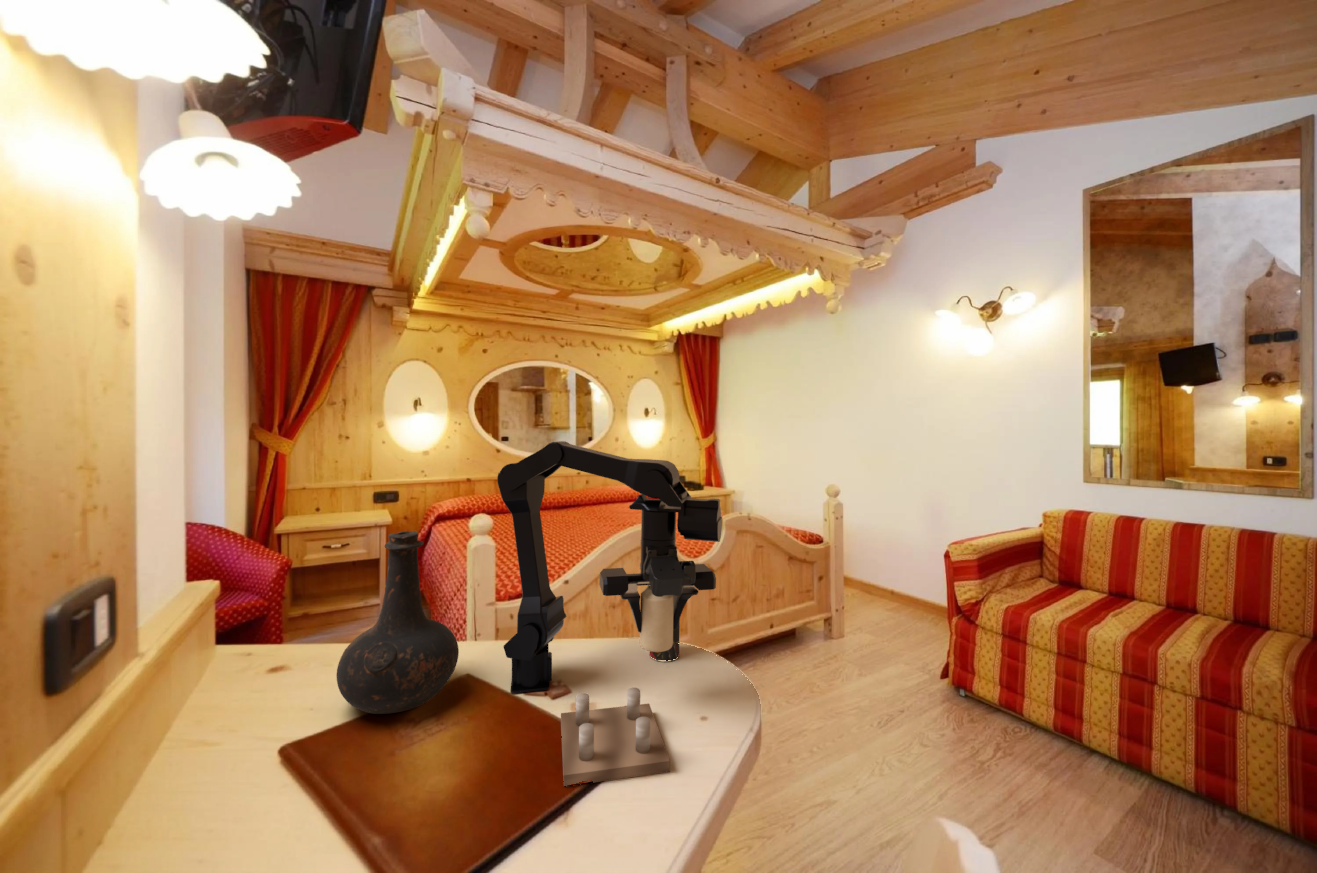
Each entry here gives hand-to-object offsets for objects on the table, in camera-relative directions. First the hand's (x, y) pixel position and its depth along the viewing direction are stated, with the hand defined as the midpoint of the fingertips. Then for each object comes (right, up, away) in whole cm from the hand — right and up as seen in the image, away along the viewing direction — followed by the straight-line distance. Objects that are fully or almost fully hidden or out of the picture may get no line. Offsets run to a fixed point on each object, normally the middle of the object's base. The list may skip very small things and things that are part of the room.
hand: (656, 629), depth 84 cm
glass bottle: (-43, -12, +1) cm, 44 cm away
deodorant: (+2, -12, +18) cm, 21 cm away
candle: (0, -3, 0) cm, 3 cm away
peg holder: (-7, -13, -11) cm, 18 cm away
